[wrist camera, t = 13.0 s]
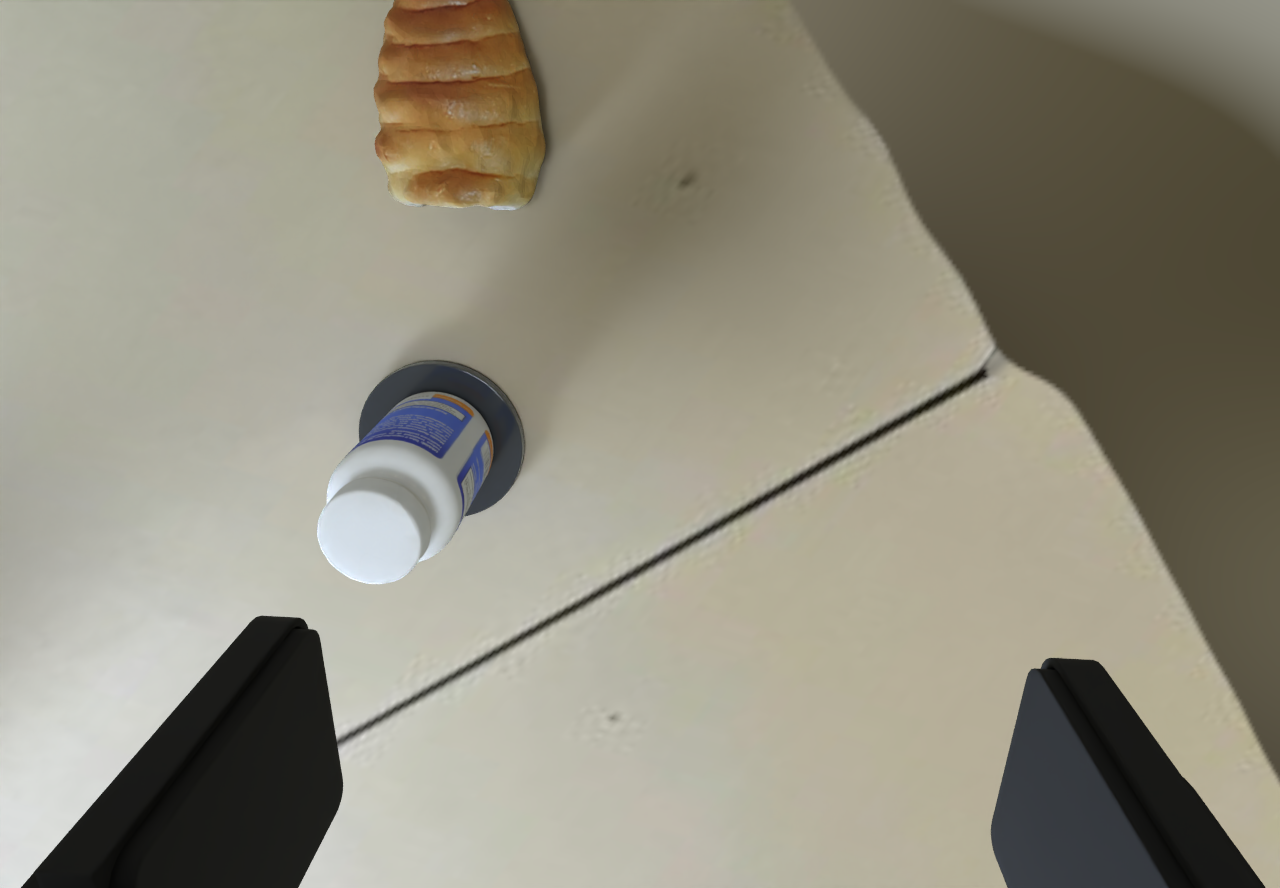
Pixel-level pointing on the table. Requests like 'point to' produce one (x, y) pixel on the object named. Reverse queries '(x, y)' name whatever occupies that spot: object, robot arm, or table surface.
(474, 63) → the pastry
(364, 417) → the coaster
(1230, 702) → the table surface
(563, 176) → the table surface
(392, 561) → the pill bottle
